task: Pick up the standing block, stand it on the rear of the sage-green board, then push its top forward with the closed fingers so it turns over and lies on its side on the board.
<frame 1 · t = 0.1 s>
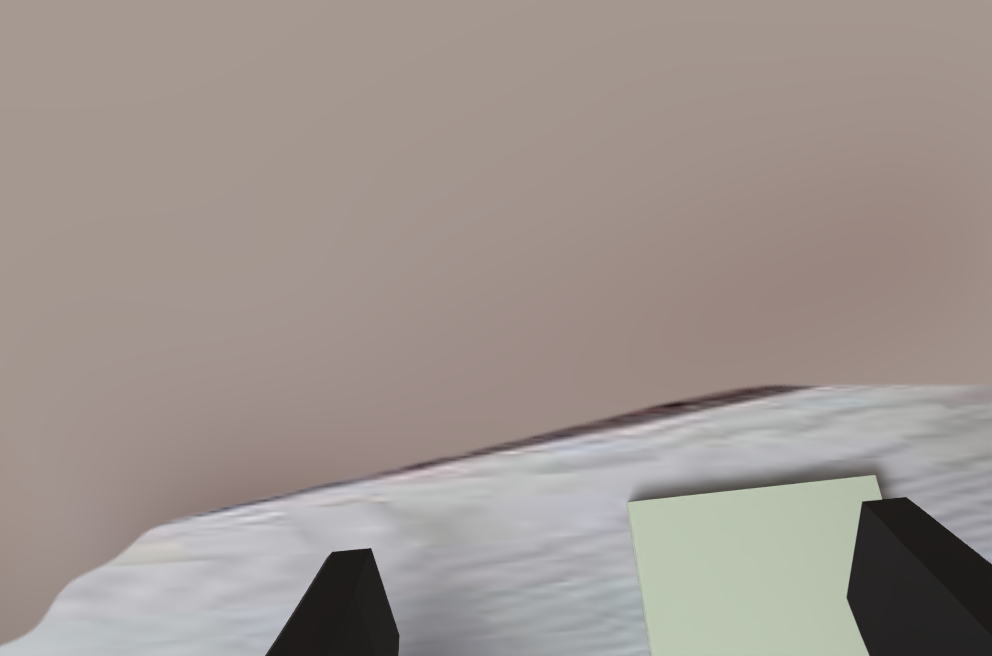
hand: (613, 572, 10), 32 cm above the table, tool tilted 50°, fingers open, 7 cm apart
board: (771, 618, 38), on the table
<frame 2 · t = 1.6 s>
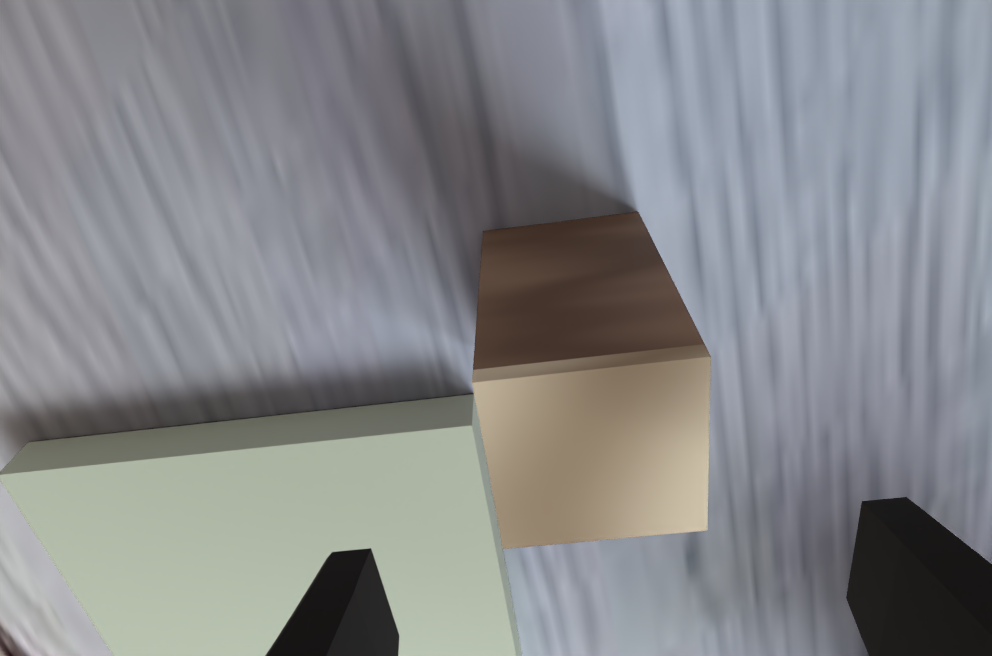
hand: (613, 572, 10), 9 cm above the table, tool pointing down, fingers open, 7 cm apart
block: (566, 290, 19), on the table
board: (307, 577, 24), on the table
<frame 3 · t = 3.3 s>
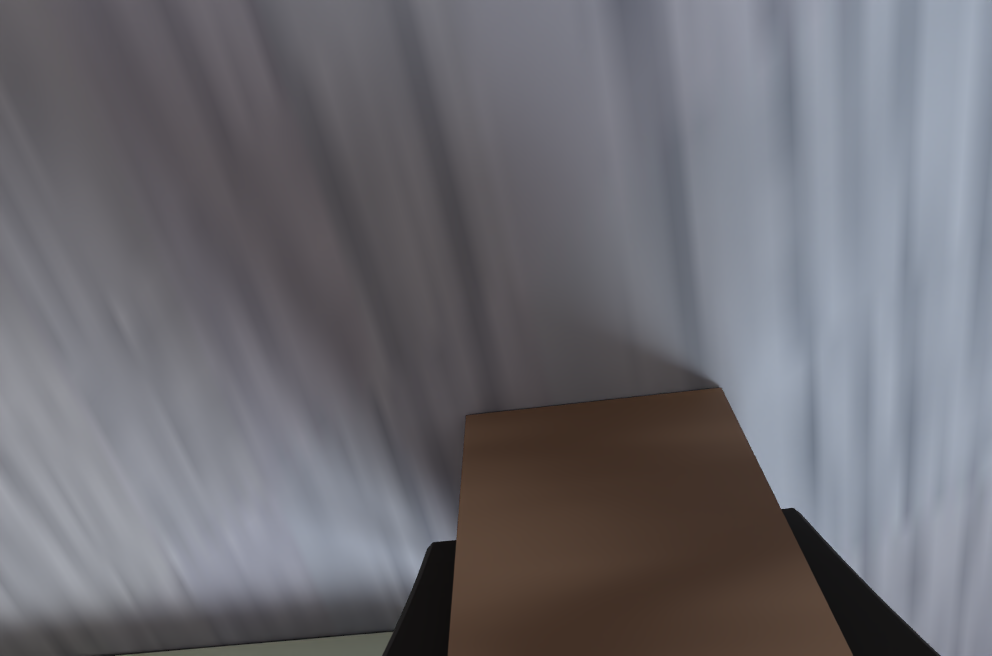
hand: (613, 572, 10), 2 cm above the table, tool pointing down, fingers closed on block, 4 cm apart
block: (600, 496, 12), on the table, touching gripper
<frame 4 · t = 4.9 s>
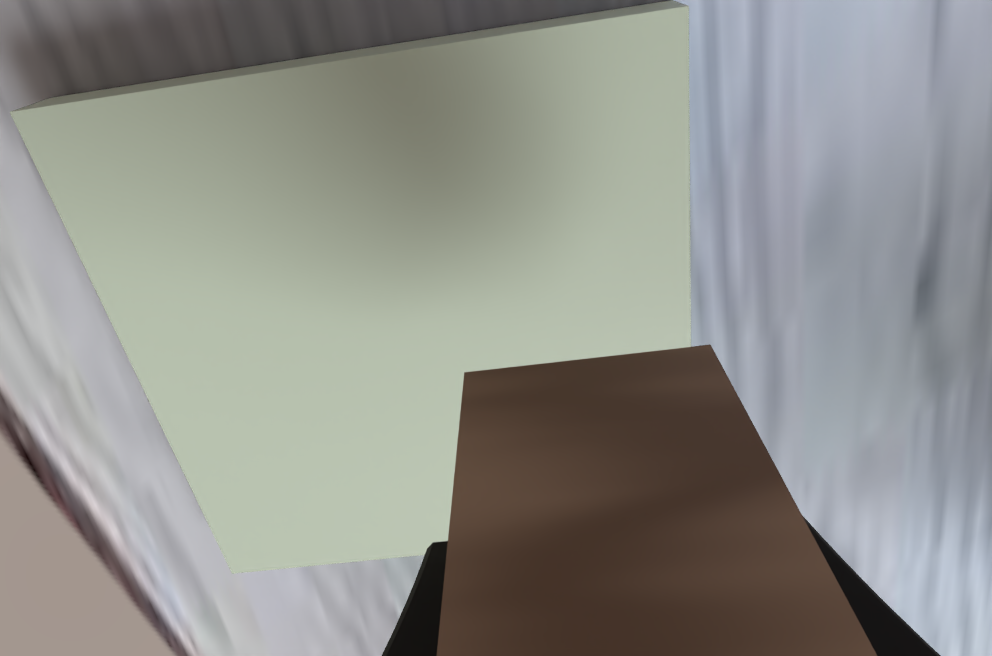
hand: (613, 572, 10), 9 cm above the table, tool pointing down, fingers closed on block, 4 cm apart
block: (594, 455, 12), point 7 cm above the table, touching gripper
board: (414, 325, 18), on the table
when the fingers open (4 cm above the table, at t = 6.7 s): block stays where it is, resting on board.
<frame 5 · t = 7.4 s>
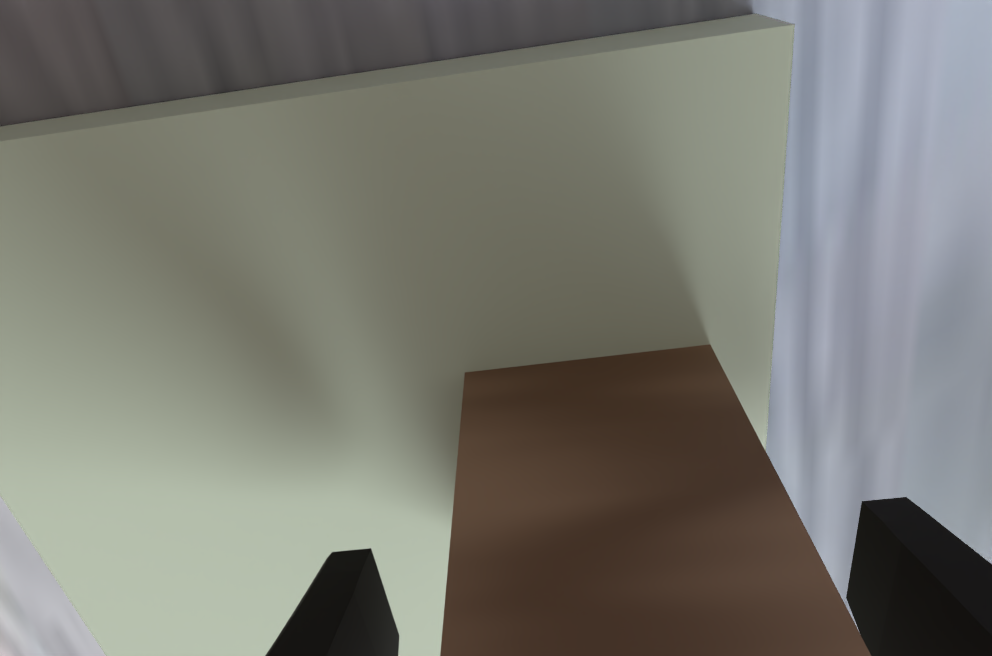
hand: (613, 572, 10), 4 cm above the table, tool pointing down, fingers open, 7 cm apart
block: (594, 453, 12), point 1 cm above the table, touching board
board: (389, 439, 14), on the table
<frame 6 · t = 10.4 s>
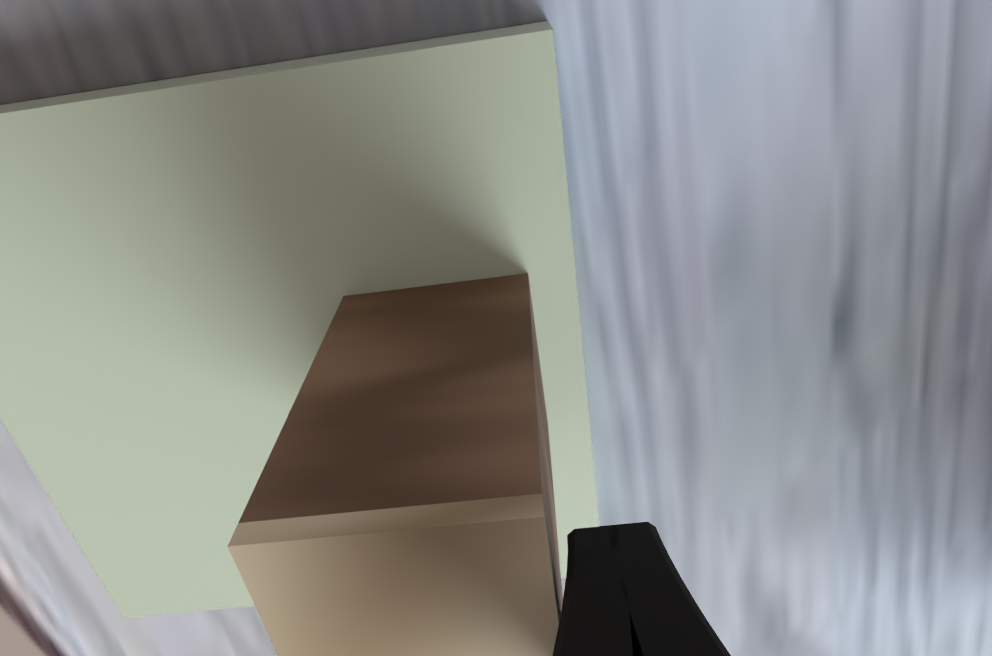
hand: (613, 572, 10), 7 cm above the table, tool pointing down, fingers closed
block: (450, 363, 16), point 2 cm above the table, touching board, gripper
board: (301, 361, 17), on the table
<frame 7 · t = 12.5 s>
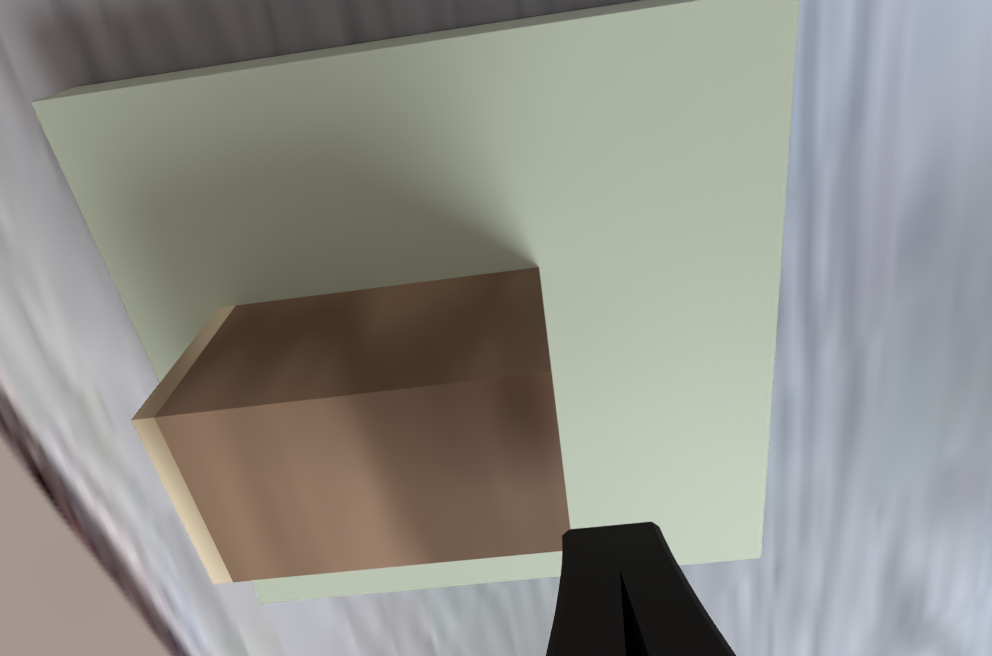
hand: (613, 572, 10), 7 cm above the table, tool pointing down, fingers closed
block: (555, 400, 14), point 3 cm above the table, tilted 90°, touching board
board: (466, 338, 17), on the table
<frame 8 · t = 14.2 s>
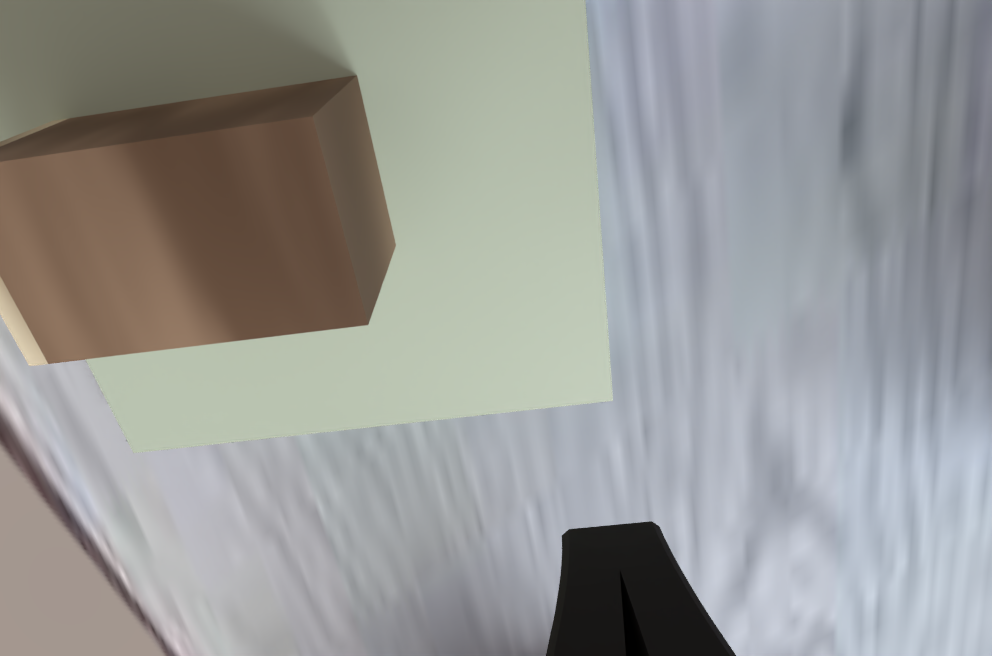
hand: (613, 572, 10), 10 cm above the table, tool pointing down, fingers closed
block: (362, 193, 14), point 3 cm above the table, tilted 90°, touching board
board: (313, 173, 17), on the table
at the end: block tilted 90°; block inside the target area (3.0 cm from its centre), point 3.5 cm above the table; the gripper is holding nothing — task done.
